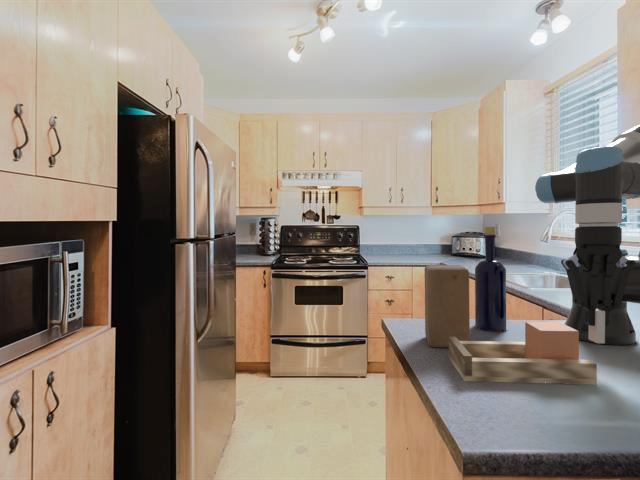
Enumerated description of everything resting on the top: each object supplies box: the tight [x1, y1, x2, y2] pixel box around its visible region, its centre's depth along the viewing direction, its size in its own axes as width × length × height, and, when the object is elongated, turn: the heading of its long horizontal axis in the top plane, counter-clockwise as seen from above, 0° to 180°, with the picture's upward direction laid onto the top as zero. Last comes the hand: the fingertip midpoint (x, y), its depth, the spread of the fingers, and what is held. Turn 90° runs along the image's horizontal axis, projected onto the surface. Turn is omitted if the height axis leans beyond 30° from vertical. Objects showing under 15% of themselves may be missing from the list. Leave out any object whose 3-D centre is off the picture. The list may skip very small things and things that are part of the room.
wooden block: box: [424, 264, 471, 349], centre depth 95 cm, size 10×10×20 cm
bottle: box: [474, 226, 507, 333], centre depth 108 cm, size 9×9×30 cm
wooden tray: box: [448, 336, 598, 386], centre depth 77 cm, size 24×13×5 cm, turn 83°
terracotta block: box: [524, 321, 580, 360], centre depth 76 cm, size 7×7×8 cm
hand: (596, 341), depth 75 cm, fingers closed
